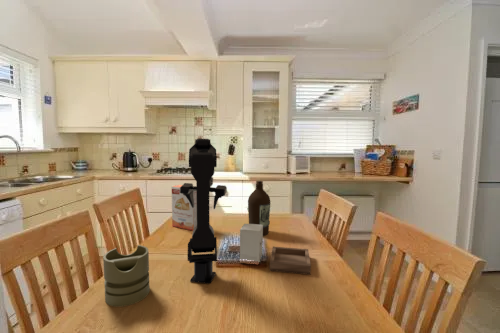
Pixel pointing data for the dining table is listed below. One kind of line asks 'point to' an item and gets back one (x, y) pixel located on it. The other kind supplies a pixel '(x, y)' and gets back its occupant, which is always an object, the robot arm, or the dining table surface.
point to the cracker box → (183, 210)
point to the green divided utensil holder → (126, 277)
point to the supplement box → (251, 242)
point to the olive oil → (259, 207)
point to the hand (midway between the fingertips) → (203, 208)
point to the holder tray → (290, 260)
